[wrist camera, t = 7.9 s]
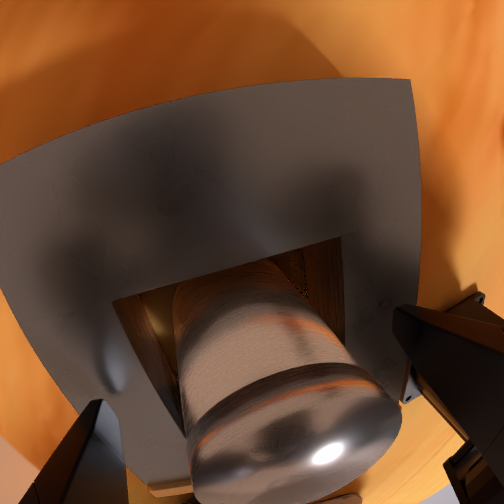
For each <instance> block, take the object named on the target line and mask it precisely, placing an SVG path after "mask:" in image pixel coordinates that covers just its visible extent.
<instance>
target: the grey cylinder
mask: <svg viewBox="0 0 504 504" xmlns="http://www.w3.org/2000/svg"><path fill="white" fill-rule="evenodd" d="M173 323H174V336H175V348H176V358H177V368H178V378H179V387H180V395H181V403H182V410H183V418H184V425H185V432H186V438H187V445H186V453H187V459H188V465H189V471H190V476H191V482H192V487H193V492H194V495H195V497H196V499H197V500H198V501H199V502H200V503H201V504H307V503H310V502H313V501H315V500H318V499H320V498H322V497H325V496H327V495H329V494H331V493H333V492H335V491H337V490H338V489H340V488H342V487H344V486H345V485H347V484H349V483H350V482H352V481H353V480H355V479H356V478H358V477H359V476H360V475H362V474H363V473H364V472H366V471H367V470H368V469H369V468H370V467H371V466H373V465H374V464H375V463H376V462H377V461H378V460H379V459H380V458H381V457H382V456H383V455H384V454H385V452H386V451H387V450H388V449H389V447H390V446H391V445H392V443H393V442H394V440H395V438H396V437H397V435H398V432H399V430H400V427H401V423H402V413H401V410H400V408H399V407H398V405H397V404H396V403H395V402H394V401H393V399H392V398H391V397H390V396H389V395H388V393H387V392H386V391H385V390H384V389H383V387H382V386H381V385H380V384H379V383H378V382H377V380H376V379H375V378H374V377H373V376H372V374H370V373H369V372H368V371H367V370H365V369H363V367H362V366H361V365H360V364H359V363H358V361H357V360H356V359H355V358H354V357H353V355H352V354H351V353H350V352H349V351H348V349H347V348H346V347H345V346H344V345H343V344H342V342H341V341H340V340H339V339H338V338H337V336H336V335H335V334H334V333H333V332H332V330H331V329H330V328H329V327H328V326H327V324H326V323H325V322H324V321H323V320H322V319H321V317H320V316H319V315H318V314H317V313H316V311H315V310H314V309H313V308H312V307H311V306H310V304H309V303H308V302H307V301H306V300H305V298H304V297H303V296H302V295H301V294H300V293H299V291H298V290H297V289H296V288H295V287H294V286H293V284H292V283H291V282H290V281H289V280H288V278H287V277H286V276H285V275H284V274H283V273H282V271H281V270H280V269H279V268H278V267H277V266H276V265H275V264H274V263H273V262H272V261H270V260H269V259H267V258H263V259H259V260H256V261H252V262H249V263H245V264H242V265H238V266H235V267H231V268H228V269H224V270H221V271H217V272H214V273H210V274H206V275H203V276H199V277H196V278H192V279H189V280H185V281H181V282H180V283H179V285H178V286H177V288H176V291H175V294H174V298H173Z"/></svg>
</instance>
